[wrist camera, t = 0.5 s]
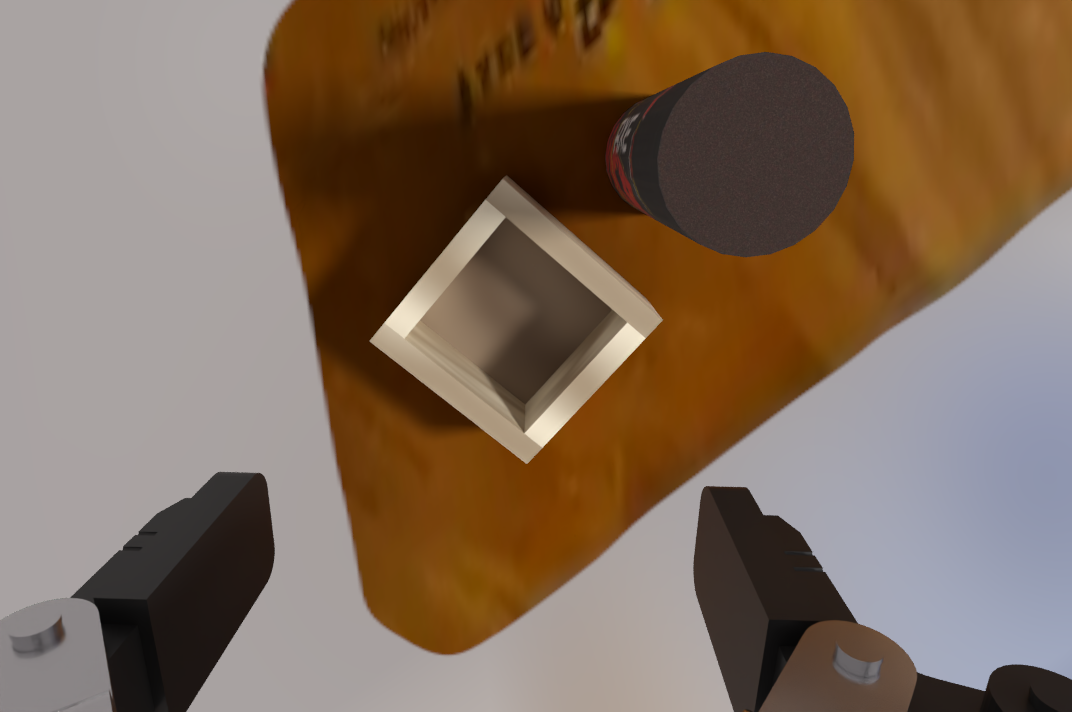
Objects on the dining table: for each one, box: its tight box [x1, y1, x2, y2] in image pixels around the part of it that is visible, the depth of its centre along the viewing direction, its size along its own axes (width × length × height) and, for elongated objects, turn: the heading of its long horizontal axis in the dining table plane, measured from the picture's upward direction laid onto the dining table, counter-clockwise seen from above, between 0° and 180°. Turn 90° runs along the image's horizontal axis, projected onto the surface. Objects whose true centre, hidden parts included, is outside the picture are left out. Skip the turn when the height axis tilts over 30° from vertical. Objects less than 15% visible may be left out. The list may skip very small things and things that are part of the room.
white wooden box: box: [370, 175, 663, 464], centre depth 34 cm, size 10×10×5 cm
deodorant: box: [605, 52, 854, 257], centre depth 27 cm, size 6×6×15 cm
